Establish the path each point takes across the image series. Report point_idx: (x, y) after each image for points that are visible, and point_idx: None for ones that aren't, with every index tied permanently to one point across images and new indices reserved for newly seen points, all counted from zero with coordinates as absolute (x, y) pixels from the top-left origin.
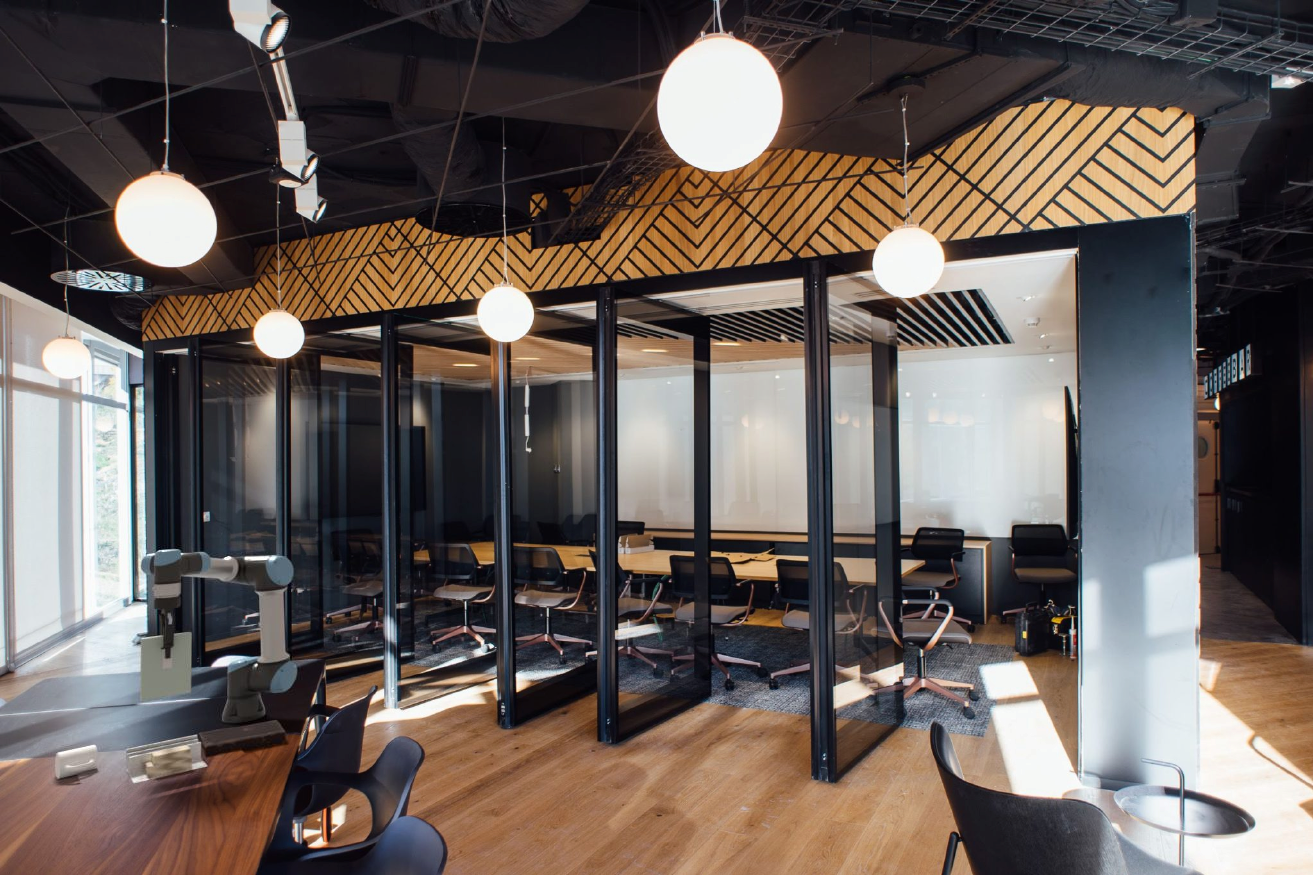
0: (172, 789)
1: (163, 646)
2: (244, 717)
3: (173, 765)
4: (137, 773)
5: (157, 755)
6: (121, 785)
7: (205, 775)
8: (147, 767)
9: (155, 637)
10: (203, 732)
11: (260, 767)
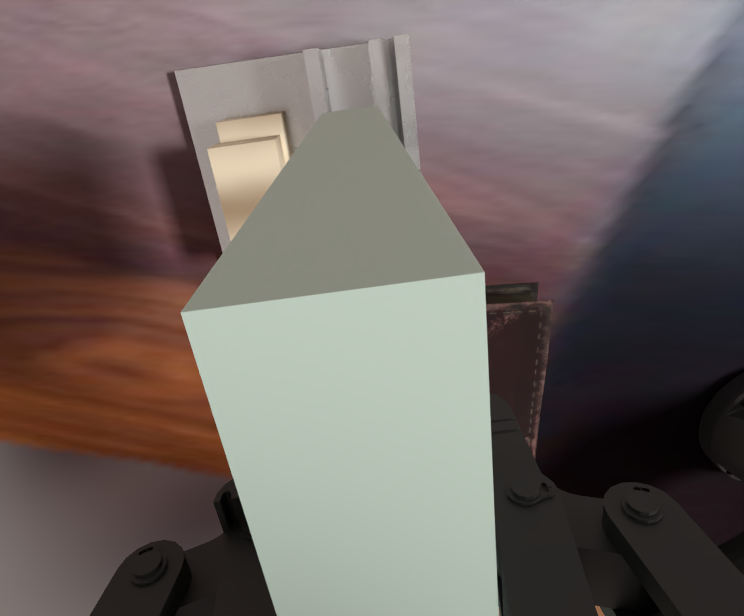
0: (76, 194)
1: (245, 535)
2: (711, 425)
3: None
4: (292, 83)
5: (214, 162)
6: (216, 27)
7: (173, 288)
8: (222, 121)
9: (278, 612)
10: (550, 313)
11: (166, 418)
